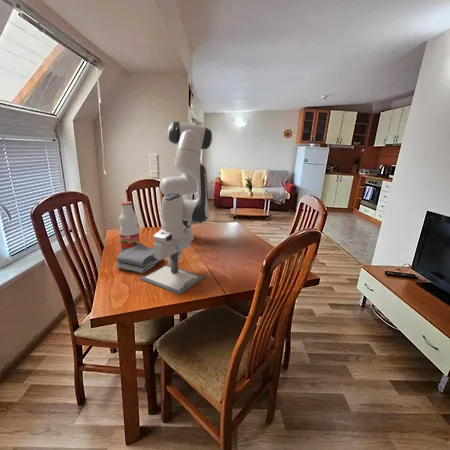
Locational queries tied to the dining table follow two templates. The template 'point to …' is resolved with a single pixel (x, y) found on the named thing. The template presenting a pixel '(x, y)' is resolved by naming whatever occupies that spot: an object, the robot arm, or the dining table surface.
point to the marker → (174, 262)
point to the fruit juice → (128, 227)
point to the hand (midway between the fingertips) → (174, 261)
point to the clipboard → (172, 279)
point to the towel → (137, 259)
